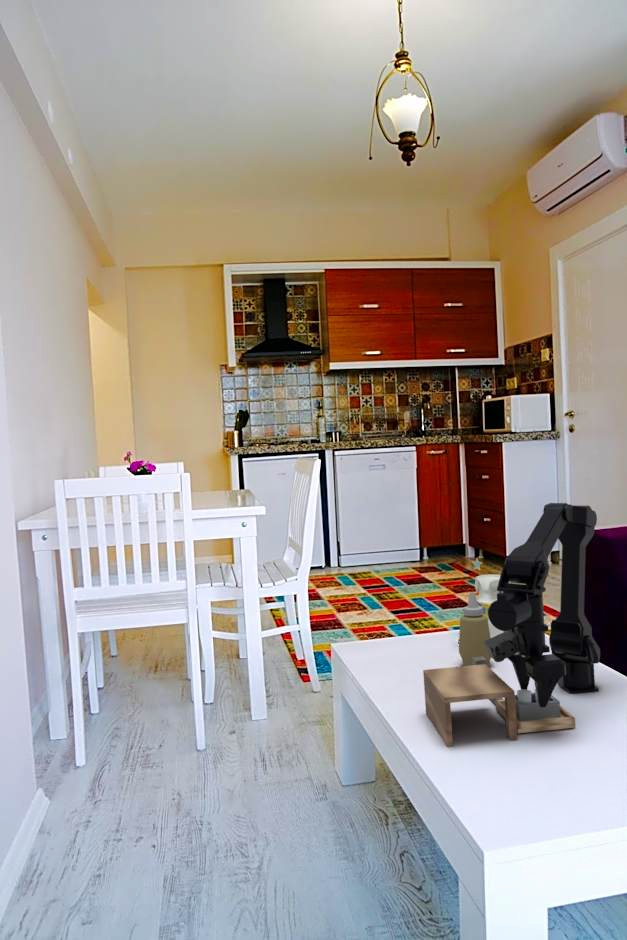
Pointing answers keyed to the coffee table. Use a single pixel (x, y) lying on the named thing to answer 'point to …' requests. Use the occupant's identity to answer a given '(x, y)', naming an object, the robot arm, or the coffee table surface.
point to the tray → (534, 706)
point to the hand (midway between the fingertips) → (533, 698)
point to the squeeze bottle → (473, 632)
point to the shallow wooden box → (532, 725)
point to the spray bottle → (487, 594)
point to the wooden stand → (464, 695)
